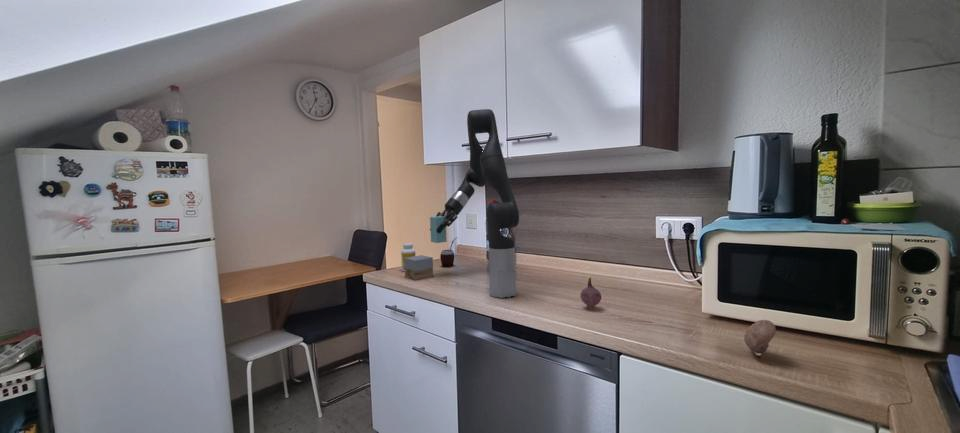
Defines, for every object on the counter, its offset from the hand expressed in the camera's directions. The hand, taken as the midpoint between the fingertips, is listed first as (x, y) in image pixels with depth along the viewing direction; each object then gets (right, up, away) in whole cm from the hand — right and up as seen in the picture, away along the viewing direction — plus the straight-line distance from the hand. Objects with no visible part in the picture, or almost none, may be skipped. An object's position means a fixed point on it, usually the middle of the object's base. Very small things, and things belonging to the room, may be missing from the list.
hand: (434, 231), depth 158 cm
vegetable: (+55, -23, -44) cm, 73 cm away
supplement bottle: (-14, -20, +16) cm, 29 cm away
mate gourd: (+4, -19, +24) cm, 31 cm away
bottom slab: (-7, -21, +2) cm, 22 cm away
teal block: (+2, -5, +1) cm, 5 cm away
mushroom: (+81, -25, -78) cm, 115 cm away
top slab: (-7, -16, +2) cm, 18 cm away
